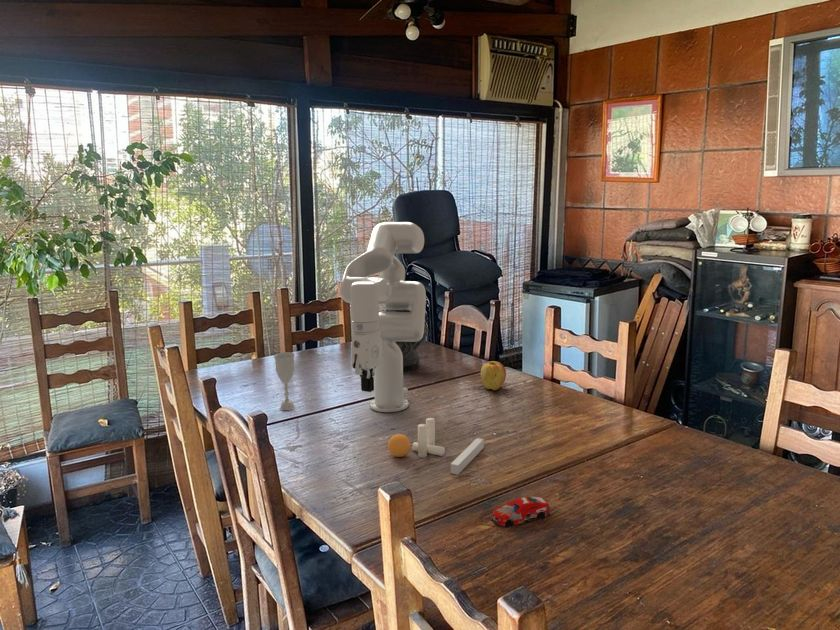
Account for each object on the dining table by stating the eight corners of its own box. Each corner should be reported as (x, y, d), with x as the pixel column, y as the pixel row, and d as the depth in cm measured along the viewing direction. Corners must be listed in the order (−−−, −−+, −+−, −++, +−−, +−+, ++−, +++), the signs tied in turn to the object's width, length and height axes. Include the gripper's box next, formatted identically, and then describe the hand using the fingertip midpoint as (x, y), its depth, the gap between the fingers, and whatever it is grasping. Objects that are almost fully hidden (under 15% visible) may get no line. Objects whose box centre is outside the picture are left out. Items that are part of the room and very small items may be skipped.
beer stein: (378, 361, 259) (376, 302, 254) (424, 359, 261) (423, 300, 256) (379, 373, 243) (378, 310, 238) (429, 370, 245) (428, 308, 240)
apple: (511, 389, 220) (511, 362, 218) (491, 394, 215) (492, 366, 213) (494, 383, 228) (494, 356, 226) (475, 387, 223) (475, 360, 221)
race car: (499, 531, 130) (499, 513, 129) (487, 518, 135) (487, 501, 134) (553, 518, 135) (554, 501, 134) (540, 506, 140) (540, 490, 139)
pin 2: (428, 446, 173) (428, 417, 171) (436, 447, 172) (436, 418, 170) (424, 449, 170) (424, 420, 169) (432, 451, 169) (432, 421, 168)
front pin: (415, 440, 171) (444, 445, 167) (416, 448, 171) (444, 453, 168) (412, 444, 169) (440, 449, 165) (412, 452, 169) (441, 457, 166)
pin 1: (420, 453, 168) (420, 423, 166) (428, 454, 167) (428, 424, 165) (416, 456, 166) (416, 426, 164) (424, 458, 165) (424, 428, 163)
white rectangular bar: (476, 446, 172) (476, 438, 171) (483, 447, 171) (483, 439, 171) (450, 473, 156) (450, 463, 156) (458, 474, 155) (458, 465, 155)
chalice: (292, 412, 201) (289, 358, 197) (273, 411, 202) (269, 357, 199) (301, 404, 208) (298, 352, 204) (282, 403, 209) (279, 351, 206)
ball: (417, 445, 168) (401, 431, 170) (411, 442, 162) (395, 427, 165) (402, 463, 167) (387, 448, 170) (396, 460, 162) (380, 445, 164)
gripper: (363, 333, 162) (365, 400, 165) (390, 322, 175) (392, 384, 179) (338, 331, 165) (341, 397, 169) (367, 320, 178) (369, 381, 182)
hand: (367, 390), depth 174 cm, fingers closed
